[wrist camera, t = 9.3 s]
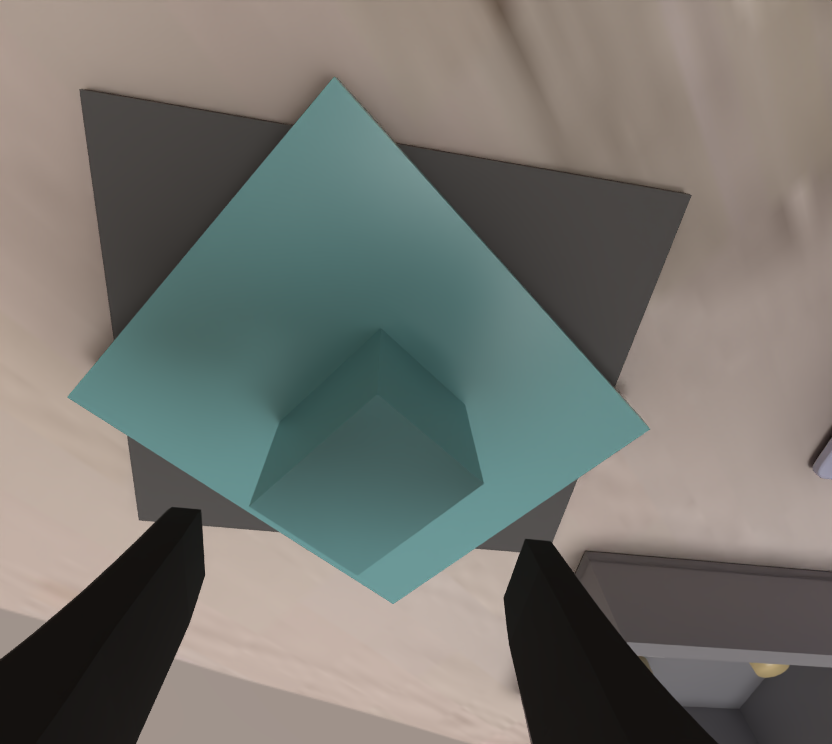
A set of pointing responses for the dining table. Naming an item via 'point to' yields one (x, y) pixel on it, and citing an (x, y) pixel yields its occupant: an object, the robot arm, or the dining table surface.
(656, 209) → the mat
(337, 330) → the lid
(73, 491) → the dining table surface
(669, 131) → the dining table surface
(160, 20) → the dining table surface
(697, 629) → the tub
